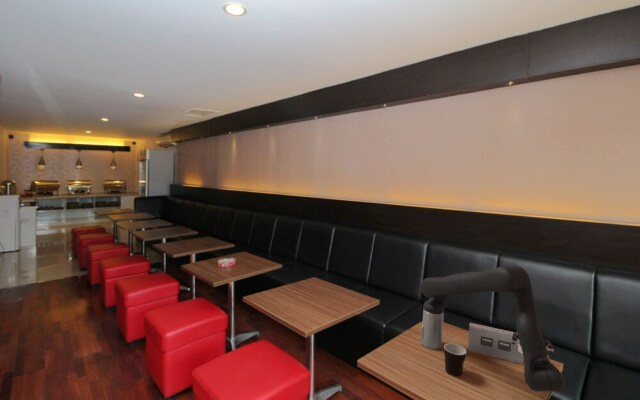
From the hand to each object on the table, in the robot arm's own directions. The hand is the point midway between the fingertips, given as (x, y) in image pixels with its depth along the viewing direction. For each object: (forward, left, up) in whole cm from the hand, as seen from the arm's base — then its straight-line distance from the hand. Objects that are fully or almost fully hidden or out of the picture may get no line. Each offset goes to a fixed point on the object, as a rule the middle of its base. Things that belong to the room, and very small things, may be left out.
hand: (528, 334), depth 128 cm
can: (0, -3, -7) cm, 8 cm away
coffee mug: (-26, -12, -17) cm, 34 cm away
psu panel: (-11, +10, -17) cm, 23 cm away
